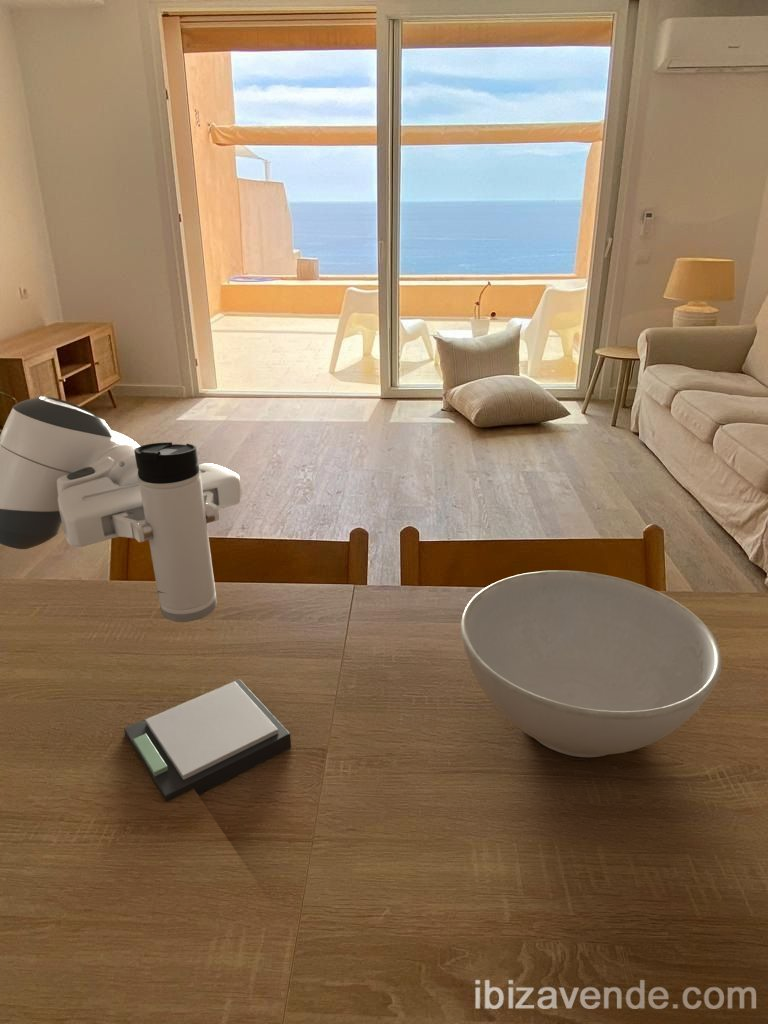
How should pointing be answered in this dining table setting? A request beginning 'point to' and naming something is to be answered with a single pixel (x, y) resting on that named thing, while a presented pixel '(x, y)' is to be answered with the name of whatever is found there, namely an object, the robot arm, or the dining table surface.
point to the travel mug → (177, 529)
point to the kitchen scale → (207, 740)
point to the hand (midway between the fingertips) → (179, 524)
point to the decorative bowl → (589, 659)
